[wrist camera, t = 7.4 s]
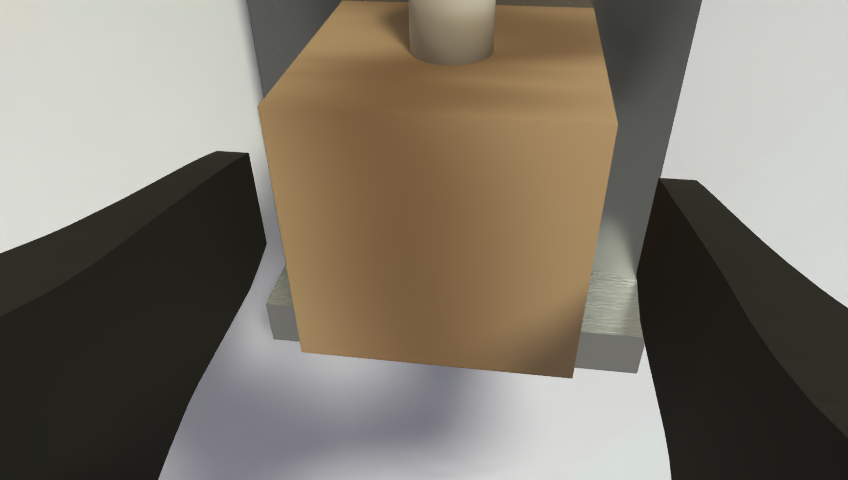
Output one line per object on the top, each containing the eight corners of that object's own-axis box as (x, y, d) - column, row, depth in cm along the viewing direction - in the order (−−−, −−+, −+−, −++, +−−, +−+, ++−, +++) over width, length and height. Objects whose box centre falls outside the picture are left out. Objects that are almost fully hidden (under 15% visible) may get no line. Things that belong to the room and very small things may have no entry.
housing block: (605, -77, 12) (638, 10, 8) (564, 219, 16) (572, 378, 12) (335, -81, 12) (238, -1, 8) (360, 205, 16) (301, 352, 12)
